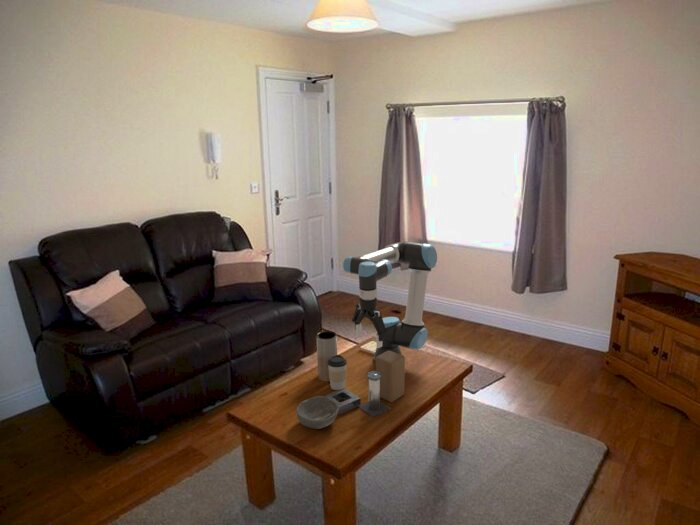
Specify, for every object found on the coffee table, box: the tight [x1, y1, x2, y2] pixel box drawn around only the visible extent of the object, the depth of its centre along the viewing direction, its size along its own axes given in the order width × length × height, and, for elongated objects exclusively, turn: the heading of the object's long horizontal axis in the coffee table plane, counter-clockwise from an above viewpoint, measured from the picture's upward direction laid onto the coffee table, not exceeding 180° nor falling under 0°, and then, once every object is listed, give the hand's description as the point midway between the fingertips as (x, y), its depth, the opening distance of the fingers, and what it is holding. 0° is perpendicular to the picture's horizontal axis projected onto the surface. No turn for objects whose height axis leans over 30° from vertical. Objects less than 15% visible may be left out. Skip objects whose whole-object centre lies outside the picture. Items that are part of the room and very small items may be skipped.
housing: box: [323, 387, 362, 415], centre depth 223 cm, size 12×12×4 cm
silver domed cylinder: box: [366, 370, 381, 410], centre depth 217 cm, size 6×6×16 cm
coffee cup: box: [328, 354, 348, 391], centre depth 237 cm, size 9×9×15 cm
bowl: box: [295, 395, 339, 430], centre depth 208 cm, size 18×18×8 cm
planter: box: [316, 330, 338, 382], centre depth 245 cm, size 10×10×23 cm
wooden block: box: [375, 351, 406, 403], centre depth 227 cm, size 10×10×20 cm
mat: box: [358, 401, 391, 418], centre depth 219 cm, size 10×10×1 cm
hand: (369, 342), depth 220 cm, fingers open, 13 cm apart
